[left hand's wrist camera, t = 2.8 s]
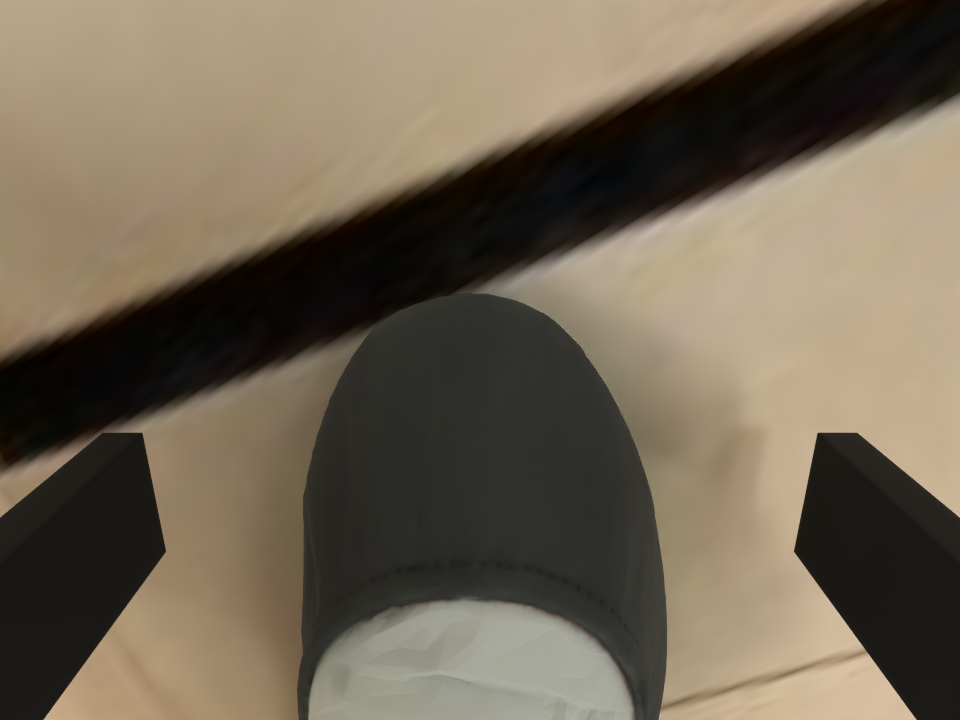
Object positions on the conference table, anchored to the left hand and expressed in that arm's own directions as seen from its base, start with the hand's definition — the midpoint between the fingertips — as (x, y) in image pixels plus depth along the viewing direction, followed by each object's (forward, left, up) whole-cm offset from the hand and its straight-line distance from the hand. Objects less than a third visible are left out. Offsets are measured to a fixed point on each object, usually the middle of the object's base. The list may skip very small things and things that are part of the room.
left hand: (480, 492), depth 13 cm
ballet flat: (+8, +2, -3) cm, 9 cm away
